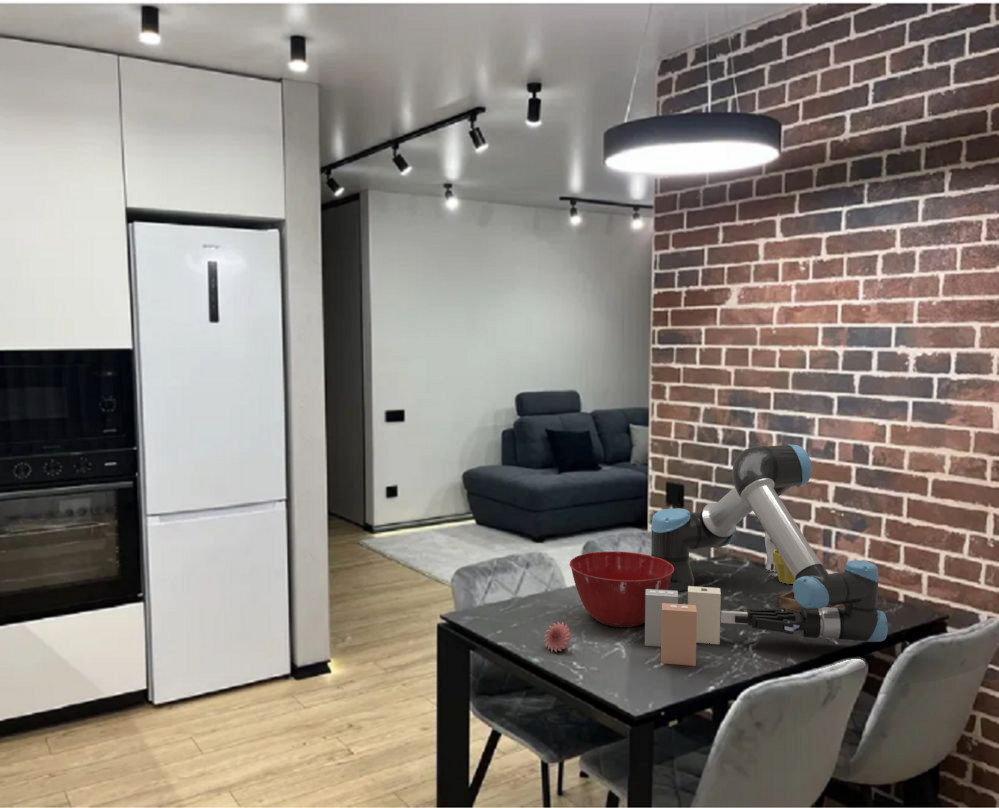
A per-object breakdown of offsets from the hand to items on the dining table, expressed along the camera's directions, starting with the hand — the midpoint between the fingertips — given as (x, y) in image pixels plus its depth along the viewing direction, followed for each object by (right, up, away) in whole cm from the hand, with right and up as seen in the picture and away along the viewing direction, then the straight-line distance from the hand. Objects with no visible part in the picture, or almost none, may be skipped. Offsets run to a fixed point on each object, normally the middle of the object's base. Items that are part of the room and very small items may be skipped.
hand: (721, 616), depth 206 cm
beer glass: (+36, -2, +66) cm, 76 cm away
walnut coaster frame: (+36, -4, +28) cm, 46 cm away
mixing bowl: (-23, -5, +17) cm, 29 cm away
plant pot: (+36, -3, +52) cm, 64 cm away
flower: (-42, -7, -5) cm, 43 cm away
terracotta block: (-14, -7, -12) cm, 20 cm away
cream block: (-4, -6, +2) cm, 8 cm away
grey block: (-15, -6, -1) cm, 17 cm away
